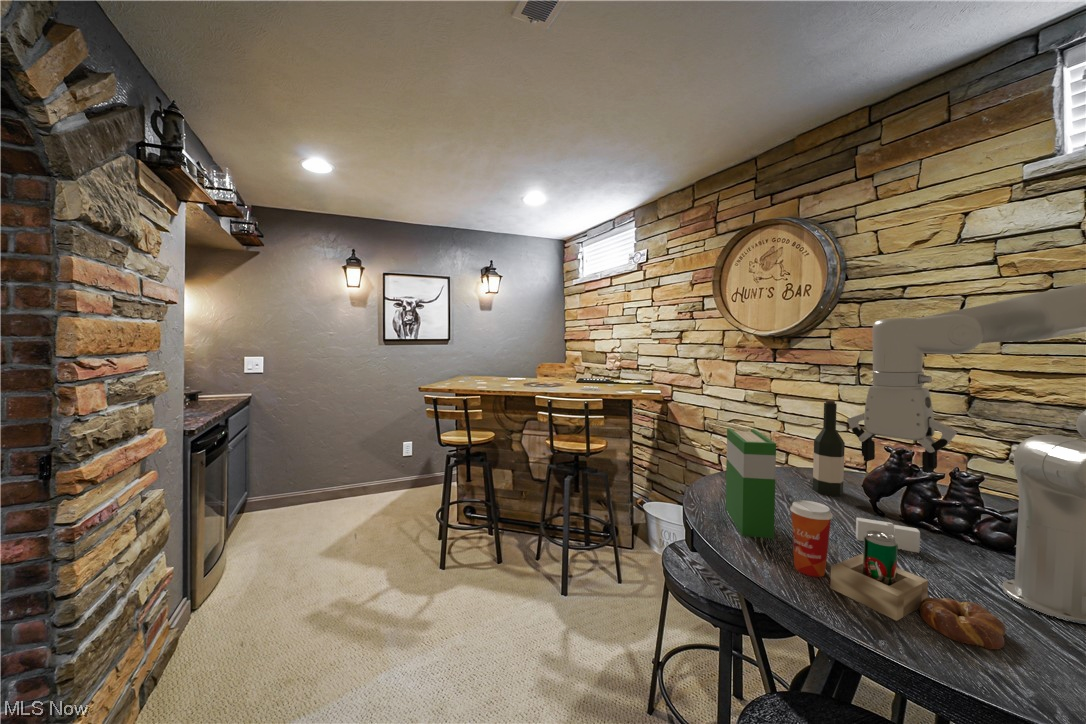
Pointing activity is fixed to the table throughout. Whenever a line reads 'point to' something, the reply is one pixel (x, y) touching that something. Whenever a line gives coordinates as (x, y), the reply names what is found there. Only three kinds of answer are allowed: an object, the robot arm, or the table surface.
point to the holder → (879, 589)
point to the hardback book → (751, 482)
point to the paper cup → (810, 536)
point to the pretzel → (963, 622)
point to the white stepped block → (903, 535)
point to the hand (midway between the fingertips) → (897, 465)
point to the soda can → (880, 557)
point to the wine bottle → (828, 455)
